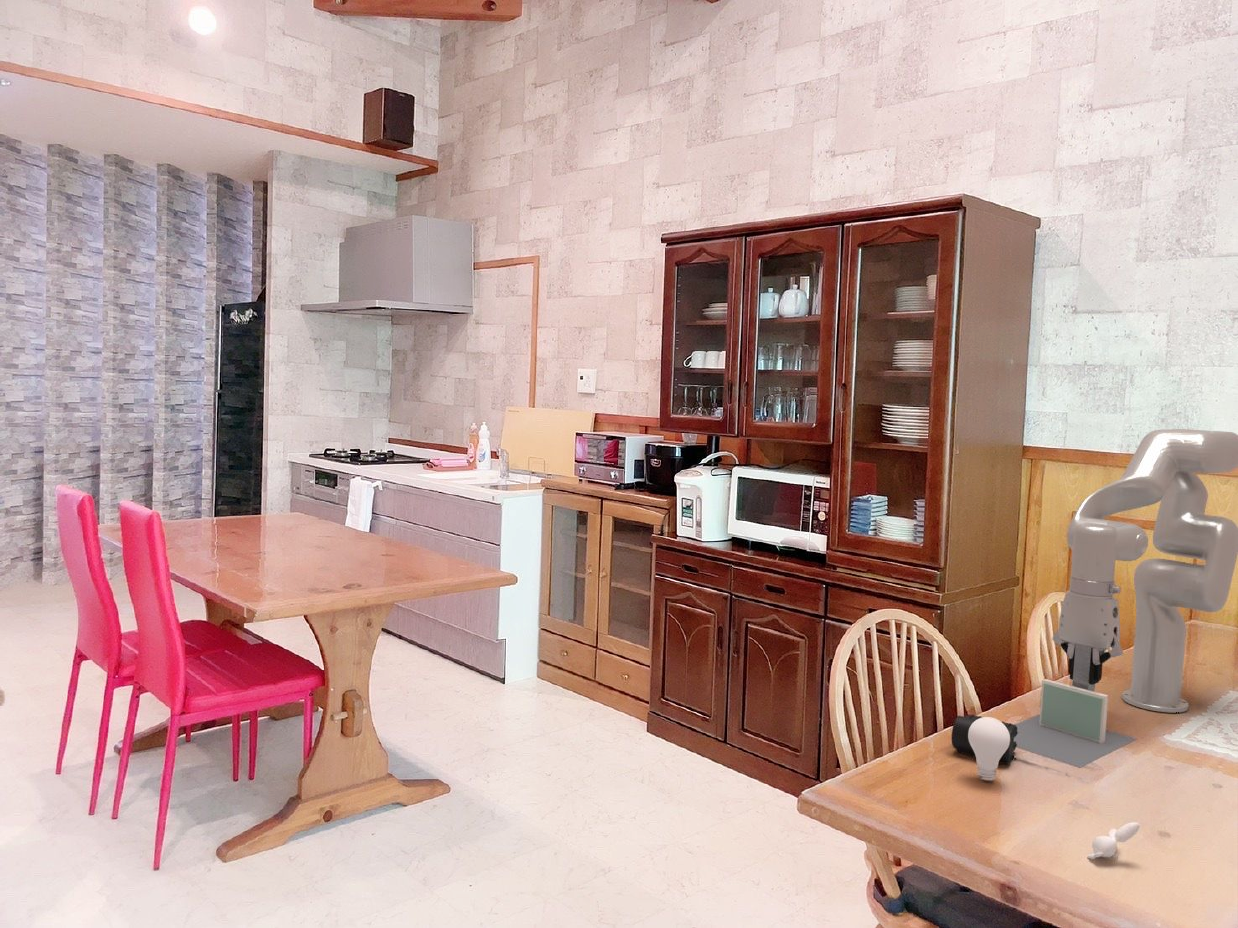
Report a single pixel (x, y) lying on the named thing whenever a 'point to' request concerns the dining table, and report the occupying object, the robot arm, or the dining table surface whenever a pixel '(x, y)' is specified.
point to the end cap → (962, 741)
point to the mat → (1065, 743)
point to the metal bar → (1082, 667)
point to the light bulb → (988, 745)
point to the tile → (1073, 710)
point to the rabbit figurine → (1113, 840)
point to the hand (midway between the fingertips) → (1084, 679)
